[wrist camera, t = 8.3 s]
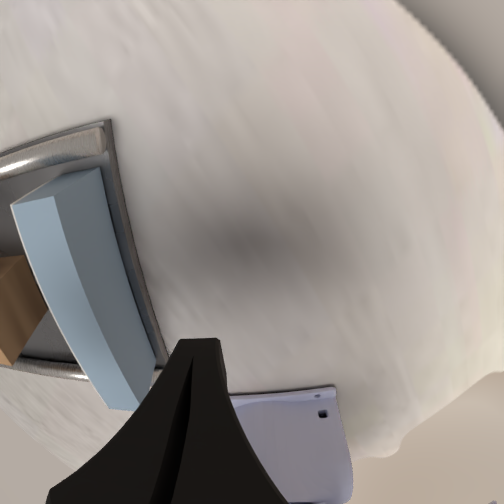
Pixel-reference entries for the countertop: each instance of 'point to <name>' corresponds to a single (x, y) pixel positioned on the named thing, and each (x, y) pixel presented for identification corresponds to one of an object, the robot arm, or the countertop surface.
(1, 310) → the walnut block
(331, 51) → the countertop surface
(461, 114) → the countertop surface
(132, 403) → the bar
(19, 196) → the vise
